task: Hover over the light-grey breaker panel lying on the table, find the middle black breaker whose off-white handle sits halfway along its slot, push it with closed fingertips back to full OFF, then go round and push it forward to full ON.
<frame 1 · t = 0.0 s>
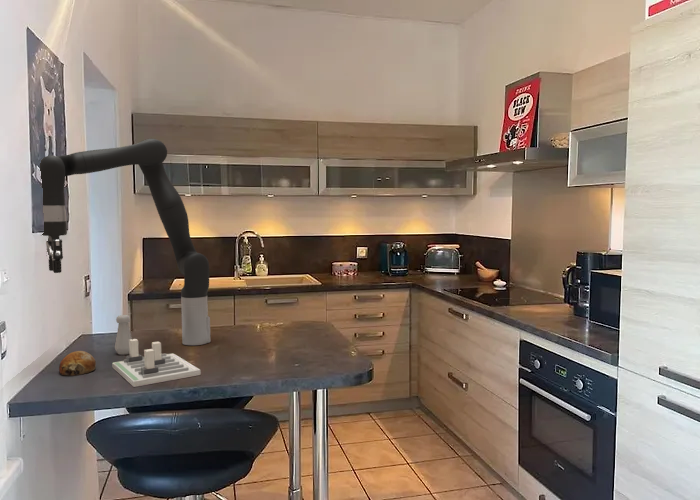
hand: (55, 271, 176), 29 cm above the breakfast bar, fingers open, 8 cm apart
panel: (155, 371, 169), on the breakfast bar
breaker c: (149, 362, 160), point 5 cm above the breakfast bar, slide at 8.0 cm
salt shaker: (124, 353, 190), on the breakfast bar
breaker b: (156, 354, 169), point 5 cm above the breakfast bar, slide at 3.5 cm
breaker a: (133, 351, 173), point 5 cm above the breakfast bar, slide at 8.0 cm
bread roll: (77, 372, 169), on the breakfast bar
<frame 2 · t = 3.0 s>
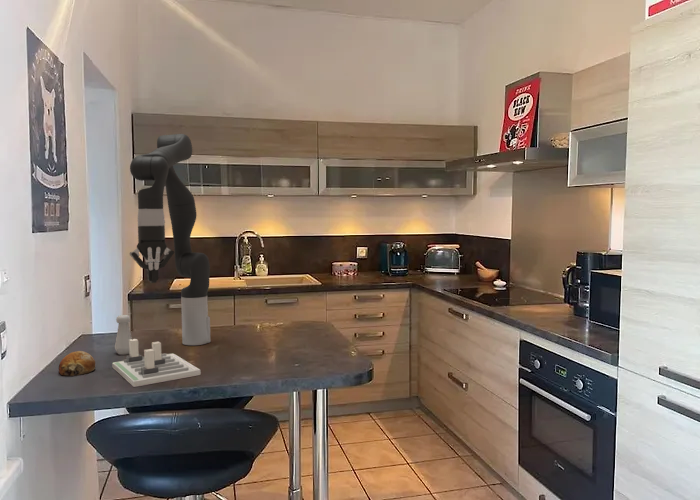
hand: (152, 282, 167), 27 cm above the breakfast bar, fingers closed
nothing on the breakfast bar moved.
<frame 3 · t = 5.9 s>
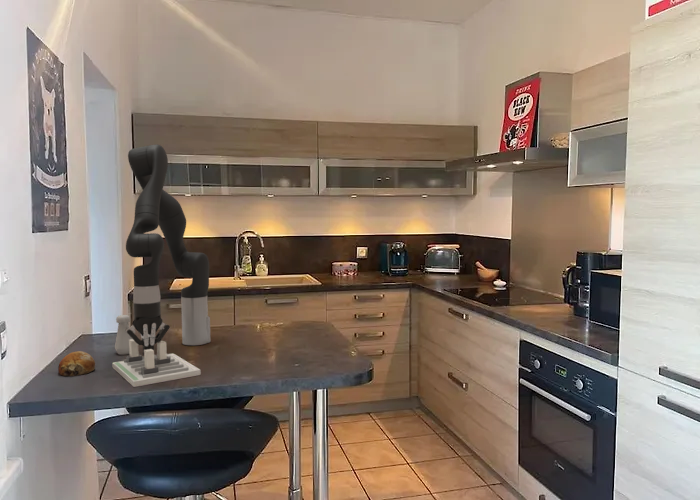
hand: (148, 357, 168), 4 cm above the breakfast bar, fingers closed
breaker b: (161, 353, 170), point 5 cm above the breakfast bar, slide at 1.9 cm, touching gripper
everything else where it was.
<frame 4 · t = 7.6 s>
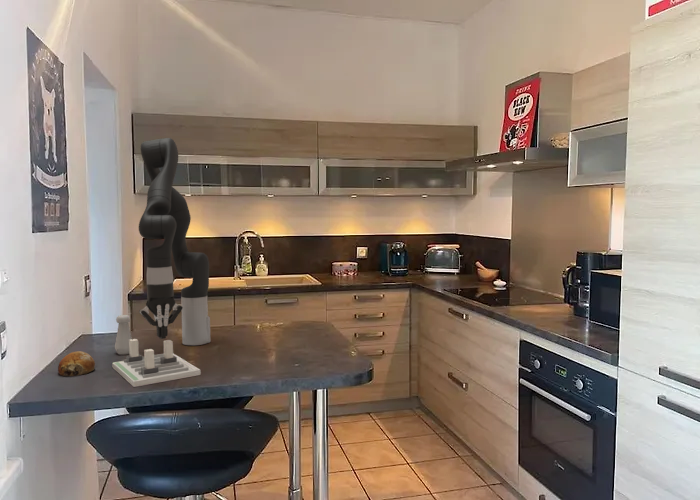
hand: (162, 338, 169), 10 cm above the breakfast bar, fingers closed
breaker b: (168, 352, 171), point 5 cm above the breakfast bar, slide at 0.0 cm
everything else where it was.
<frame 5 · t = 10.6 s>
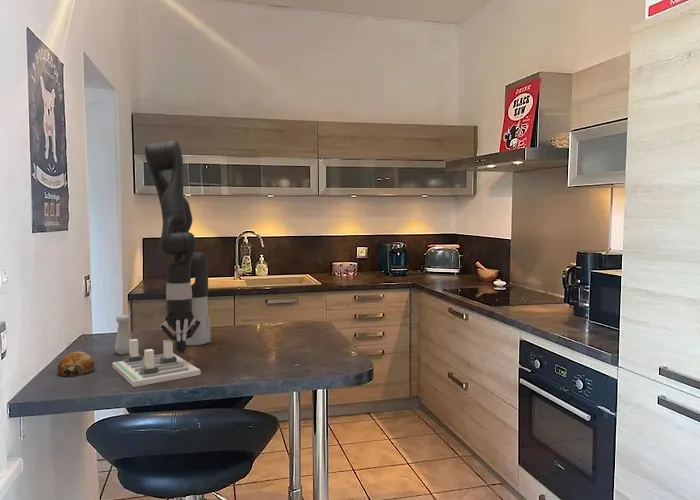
hand: (180, 352, 173), 5 cm above the breakfast bar, fingers closed
breaker b: (168, 352, 171), point 5 cm above the breakfast bar, slide at 0.0 cm, touching gripper
everything else where it was.
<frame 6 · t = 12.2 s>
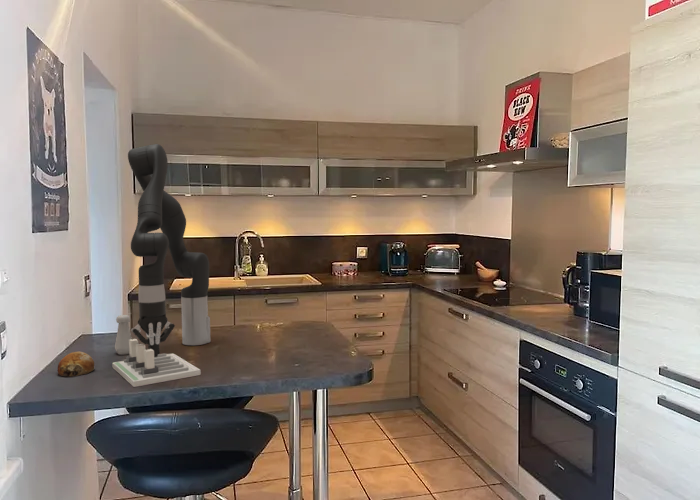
hand: (154, 356, 168), 5 cm above the breakfast bar, fingers closed
breaker b: (141, 356, 166), point 5 cm above the breakfast bar, slide at 8.1 cm, touching gripper
everything else where it was.
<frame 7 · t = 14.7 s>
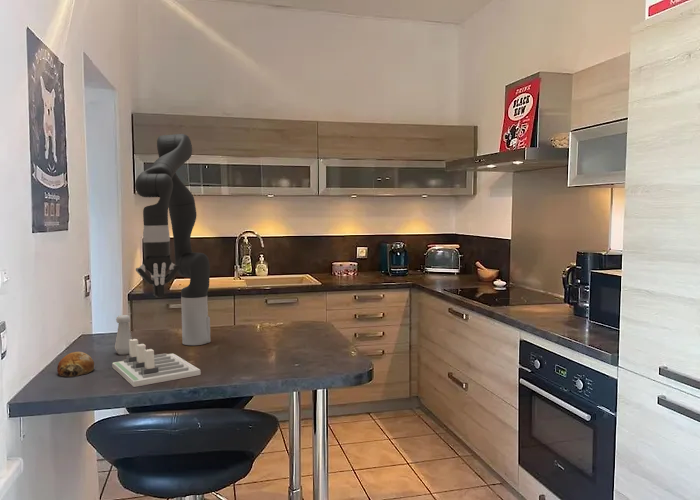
hand: (158, 297, 170), 22 cm above the breakfast bar, fingers closed
breaker b: (141, 356, 166), point 5 cm above the breakfast bar, slide at 8.0 cm
everything else where it was.
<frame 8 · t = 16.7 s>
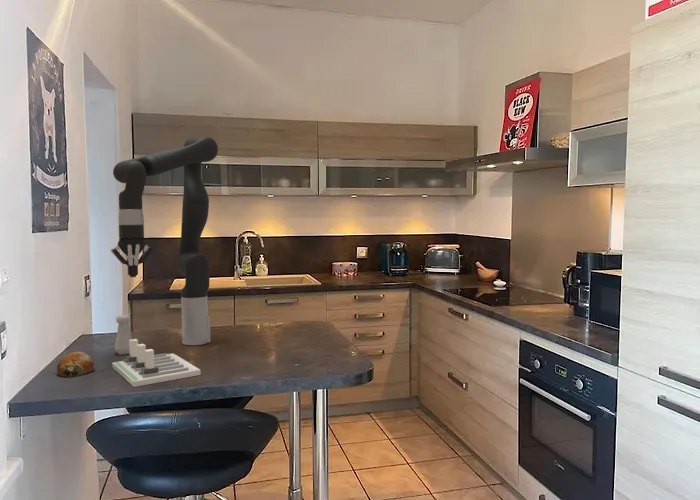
hand: (132, 276, 181), 27 cm above the breakfast bar, fingers closed
at the end: breaker b slide at 8.0 cm; breaker a slide at 8.0 cm; breaker c slide at 8.0 cm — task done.
